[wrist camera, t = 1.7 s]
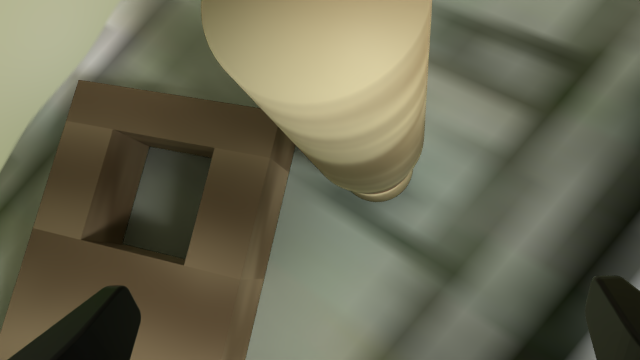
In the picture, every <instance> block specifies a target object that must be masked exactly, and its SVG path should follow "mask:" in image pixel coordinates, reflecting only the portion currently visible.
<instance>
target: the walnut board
mask: <svg viewBox="0 0 640 360" xmlns="http://www.w3.org/2000/svg"><path fill="white" fill-rule="evenodd" d="M149 147H155V148H160V149H165V150H171V151H176V152H181V153H187V154H192V155H197V156H203V157H208V158H212V160H211V164H210V168H209V171H208V175H207V179H206V183H205V187H204V191H203V195H202V198H201V202H200V206H199V210H198V214H197V218H196V221H195V225H194V229H193V233H192V237H191V241H190V245H189V248H188V252H187V256H186V259H182V258H178V257H174V256H170V255H166V254H162V253H157V252H153V251H149V250H145V249H141V248H137V247H133V246H129V245H125V244H122V243H123V239H124V235H125V232H126V228H127V225H128V221H129V218H130V214H131V210H132V207H133V203H134V200H135V196H136V193H137V189H138V186H139V182H140V178H141V175H142V171H143V168H144V164H145V161H146V157H147V153H148V150H149ZM294 149H295V144H294V143H293V142H292V141H291V140H290V139H289V138H288V136H287V135H286V134H285V133H284V132H283V131H282V130H281V129H280V128H279V127H278V126H277V125H276V124H275V123H274V122H273V121H272V120H271V119H270V117H269V116H268V115H267V114H266V113H265V112H264V111H263V110H262V109H261V108H255V107H249V106H242V105H236V104H229V103H223V102H217V101H210V100H204V99H198V98H191V97H185V96H178V95H172V94H166V93H159V92H153V91H147V90H140V89H134V88H127V87H121V86H115V85H108V84H102V83H96V82H89V81H83V80H79V81H78V84H77V87H76V90H75V94H74V97H73V100H72V103H71V107H70V110H69V113H68V116H67V119H66V123H65V126H64V129H63V132H62V136H61V139H60V142H59V145H58V148H57V152H56V155H55V158H54V161H53V165H52V168H51V171H50V174H49V178H48V181H47V184H46V187H45V190H44V194H43V197H42V200H41V203H40V207H39V210H38V213H37V216H36V219H35V223H34V226H33V229H32V232H31V236H30V239H29V242H28V245H27V249H26V252H25V255H24V258H23V261H22V265H21V268H20V271H19V274H18V278H17V281H16V284H15V287H14V290H13V294H12V297H11V300H10V303H9V307H8V310H7V313H6V316H5V320H4V323H3V326H2V329H1V332H0V360H8V359H9V358H10V357H12V356H13V355H14V354H16V353H17V352H18V351H20V350H21V349H22V348H24V347H25V346H26V345H28V344H29V343H30V342H32V341H33V340H34V339H36V338H37V337H38V336H40V335H41V334H42V333H44V332H45V331H46V330H48V329H49V328H50V327H52V326H53V325H54V324H56V323H57V322H58V321H60V320H61V319H62V318H64V317H65V316H66V315H68V314H69V313H70V312H71V311H73V310H74V309H75V308H77V307H78V306H79V305H81V304H82V303H83V302H85V301H86V300H87V299H89V298H90V297H91V296H93V295H94V294H95V293H97V292H98V291H99V290H101V289H102V288H104V287H106V286H113V285H123V286H126V287H127V288H128V289H129V291H130V293H131V294H132V296H133V298H134V300H135V302H136V304H137V305H138V307H139V309H140V312H141V323H140V327H139V330H138V334H137V337H136V341H135V344H134V348H133V351H132V355H131V358H130V360H245V358H246V354H247V350H248V345H249V341H250V337H251V333H252V328H253V324H254V320H255V316H256V311H257V307H258V303H259V299H260V294H261V290H262V286H263V281H264V277H265V273H266V269H267V264H268V260H269V256H270V252H271V247H272V243H273V239H274V235H275V230H276V226H277V222H278V217H279V213H280V209H281V205H282V200H283V196H284V192H285V188H286V183H287V179H288V175H289V171H290V166H291V162H292V158H293V154H294Z"/></svg>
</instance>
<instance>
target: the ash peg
mask: <svg viewBox="0 0 640 360" xmlns="http://www.w3.org/2000/svg"><path fill="white" fill-rule="evenodd" d="M431 8H432V0H201V16H202V24H203V29H204V34H205V37H206V39H207V42H208V45H209V47H210V49H211V51H212V53H213V55H214V57H215V58H216V60H217V61H218V62H219V64H220V65H221V66H222V68H223V69H224V70H225V71H226V72H227V73H228V74H229V75H230V76H231V77H232V78H233V79H234V80H235V82H236V83H237V84H238V85H239V86H240V87H241V88H242V89H243V90H244V91H245V92H246V93H247V94H248V95H249V96H250V97H251V98H252V99H253V101H254V102H255V103H256V104H257V105H258V106H259V107H260V108H261V109H262V110H263V111H264V112H265V113H266V114H267V115H268V116H269V117H270V119H271V120H272V121H273V122H274V123H275V124H276V125H277V126H278V127H279V128H280V129H281V130H282V131H283V132H284V133H285V134H286V135H287V136H288V138H289V139H290V140H291V141H292V142H293V143H294V144H295V145H296V146H297V147H298V148H299V149H300V150H301V151H302V152H303V153H304V154H305V156H306V157H307V158H308V159H309V160H310V161H311V162H312V163H313V164H314V165H315V166H316V167H317V168H318V169H319V170H320V171H321V172H322V173H323V175H324V176H325V177H326V178H327V179H329V180H330V181H331V182H332V183H334V184H336V185H337V186H339V187H341V188H344V189H346V190H349V191H352V192H353V193H354V194H355V195H356V196H358V197H360V198H361V199H364V200H367V201H371V202H383V201H387V200H390V199H392V198H394V197H396V196H398V195H399V194H400V193H401V192H402V191H403V190H404V189H405V188H406V187H407V185H408V184H409V182H410V179H411V177H412V172H413V168H414V166H415V165H416V163H417V161H418V159H419V157H420V155H421V152H422V148H423V142H424V128H425V111H426V94H427V77H428V60H429V43H430V26H431Z"/></svg>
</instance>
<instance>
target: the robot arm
mask: <svg viewBox="0 0 640 360" xmlns="http://www.w3.org/2000/svg"><path fill="white" fill-rule="evenodd" d="M585 317H586V322H587V325H588V329H589V333H590V337H591V340H592V344H593V348H594V351H595V355H596V359H597V360H640V291H639V290H638V289H637V288H635V287H634V286H633V285H631V284H630V283H629V282H628V281H626V280H625V279H624V278H622V277H620V276H595V277H594V278H593V279H592V281H591V284H590V288H589V293H588V297H587V302H586V306H585ZM140 323H141V312H140V309H139V307H138V305H137V304H136V302H135V300H134V298H133V296H132V294H131V293H130V291H129V289H128V288H127V287H126V286H123V285H113V286H106V287H104V288H102V289H101V290H99V291H98V292H97V293H95V294H94V295H93V296H91V297H90V298H89V299H87V300H86V301H85V302H83V303H82V304H81V305H79V306H78V307H77V308H75V309H74V310H73V311H71V312H70V313H69V314H68V315H66V316H65V317H64V318H62V319H61V320H60V321H58V322H57V323H56V324H54V325H53V326H52V327H50V328H49V329H48V330H46V331H45V332H44V333H42V334H41V335H40V336H38V337H37V338H36V339H34V340H33V341H32V342H30V343H29V344H28V345H26V346H25V347H24V348H22V349H21V350H20V351H18V352H17V353H16V354H14V355H13V356H12V357H10V358H9V359H8V360H130V358H131V355H132V351H133V348H134V344H135V341H136V337H137V334H138V330H139V327H140Z"/></svg>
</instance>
